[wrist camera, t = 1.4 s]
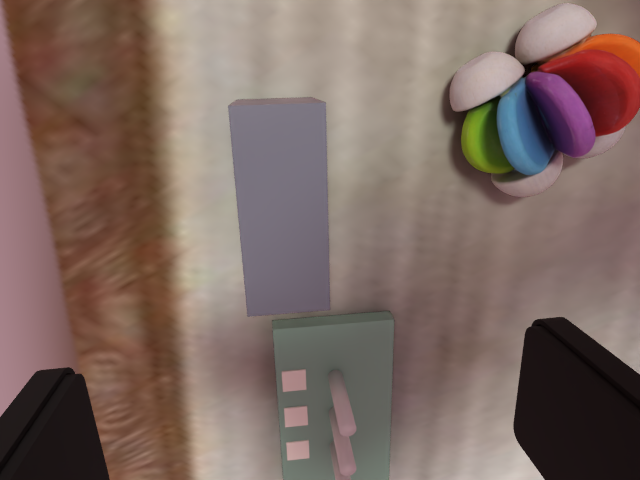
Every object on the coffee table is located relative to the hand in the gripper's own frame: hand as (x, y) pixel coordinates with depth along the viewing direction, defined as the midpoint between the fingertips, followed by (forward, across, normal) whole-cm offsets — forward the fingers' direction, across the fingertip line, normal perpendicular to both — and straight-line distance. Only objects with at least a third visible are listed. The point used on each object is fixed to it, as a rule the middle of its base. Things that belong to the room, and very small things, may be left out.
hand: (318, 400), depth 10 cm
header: (+19, -3, +16) cm, 25 cm away
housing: (+19, 0, 0) cm, 19 cm away
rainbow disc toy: (+19, -15, -5) cm, 25 cm away
